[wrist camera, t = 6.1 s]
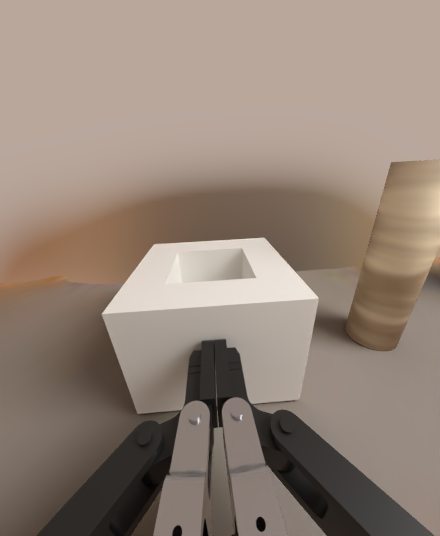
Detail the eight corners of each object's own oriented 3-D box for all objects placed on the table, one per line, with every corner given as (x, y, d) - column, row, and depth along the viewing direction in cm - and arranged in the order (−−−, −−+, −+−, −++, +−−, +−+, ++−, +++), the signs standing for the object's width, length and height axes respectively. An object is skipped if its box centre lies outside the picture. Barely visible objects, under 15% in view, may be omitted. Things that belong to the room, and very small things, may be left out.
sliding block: (299, 399, 15) (318, 298, 11) (137, 414, 15) (101, 313, 11) (260, 305, 26) (264, 237, 22) (166, 312, 26) (154, 244, 22)
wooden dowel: (395, 358, 18) (485, 156, 12) (340, 336, 21) (388, 162, 14) (398, 331, 21) (472, 158, 14) (350, 315, 24) (393, 162, 17)
